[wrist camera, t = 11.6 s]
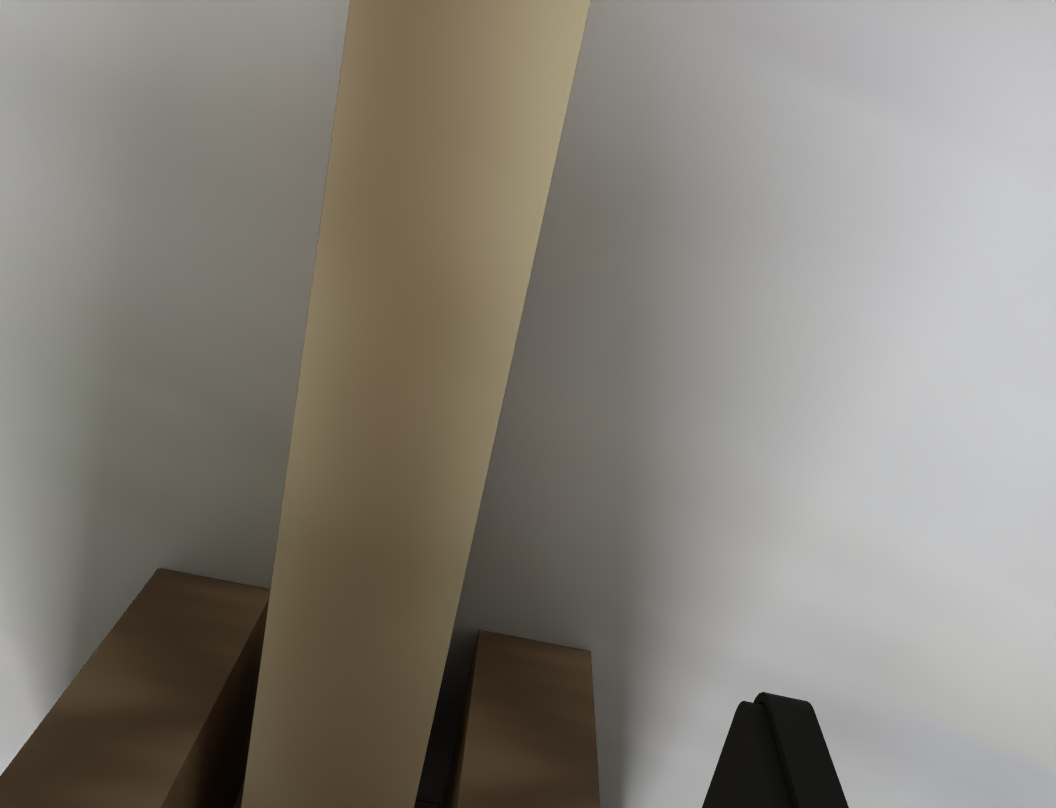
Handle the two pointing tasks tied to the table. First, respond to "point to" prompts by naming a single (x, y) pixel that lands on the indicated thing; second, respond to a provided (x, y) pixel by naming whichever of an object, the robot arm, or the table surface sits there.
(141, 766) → the wooden slotted stand
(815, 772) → the robot arm
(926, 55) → the table surface
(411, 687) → the bed rail
